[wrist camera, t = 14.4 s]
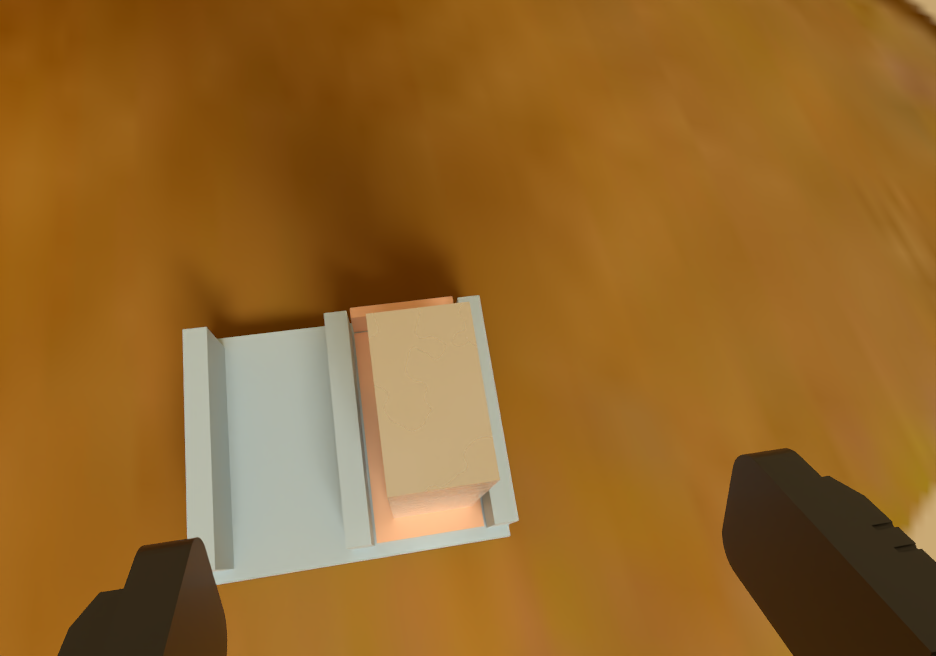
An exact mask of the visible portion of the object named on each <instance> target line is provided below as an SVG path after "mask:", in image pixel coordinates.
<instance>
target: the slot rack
mask: <svg viewBox="0 0 936 656" xmlns="http://www.w3.org/2000/svg"><path fill="white" fill-rule="evenodd" d="M461 302H470V307H471V313H472V319H473V325H474V331H475V337H476V342H477V348H478V354H479V360H480V366H481V372H482V378H483V383H484V389H485V395H486V401H487V407H488V413H489V418H490V424H491V430H492V436H493V442H494V448H495V453H496V459H497V465H498V471H499V477H500V481H498V482H497V483H496V484H495V485H494V486H493V487H492V488H491V489H490V490H489V491H487V492H486V493H485V494H484V495H483V496H482V497H481V498H480V499H479V500H478V501H476V502H475V503H474V504H473V505H472V506H469V507H463V508H456V509H450V510H444V511H437V512H431V513H425V514H418V515H412V516H406V517H400V518H394V517H393V514H392V511H391V508H390V505H389V501H388V498H387V491H386V482H385V474H384V465H383V457H382V448H381V440H380V431H379V423H378V414H377V406H376V397H375V388H374V380H373V371H372V363H371V354H370V346H369V337H368V329H367V320H366V314H368V313H377V312H385V311H394V310H402V309H410V308H419V307H427V306H436V305H444V304H453V297H452V296H449V297H440V298H431V299H423V300H414V301H406V302H397V303H388V304H380V305H371V306H362V307H354V308H350V317H351V322H352V323H349V319H348V315H347V311H338V312H330V313H324V321H325V326H321V327H313V328H304V329H296V330H287V331H279V332H270V333H262V334H254V335H245V336H237V337H228V338H220V339H217V338H216V337H215V336H214V335H213V334H212V333H211V331H210V330H209V329H208V328H207V327H201V328H192V329H183V370H184V414H185V459H186V503H187V539H190V538H196V537H199V538H201V540H202V541H203V543H204V545H205V548H206V551H207V555H208V558H209V562H210V565H211V569H212V572H213V576H214V579H215V583H216V585H219V584H225V583H231V582H237V581H243V580H249V579H255V578H261V577H267V576H274V575H280V574H286V573H292V572H298V571H304V570H310V569H316V568H322V567H328V566H334V565H340V564H346V563H352V562H358V561H364V560H370V559H376V558H382V557H388V556H394V555H400V554H407V553H413V552H419V551H425V550H431V549H437V548H443V547H449V546H455V545H461V544H467V543H473V542H479V541H485V540H491V539H497V538H503V537H508V536H510V531H509V525H508V524H511V523H513V522H516V521H519V519H518V513H517V507H516V502H515V496H514V490H513V484H512V479H511V473H510V467H509V462H508V456H507V450H506V445H505V439H504V433H503V428H502V422H501V416H500V411H499V405H498V399H497V394H496V388H495V382H494V377H493V371H492V365H491V359H490V354H489V348H488V342H487V337H486V331H485V325H484V320H483V314H482V308H481V303H480V297H479V295H476V296H468V297H459V298H457V303H461Z"/></svg>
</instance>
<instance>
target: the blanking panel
mask: <svg viewBox="0 0 936 656" xmlns="http://www.w3.org/2000/svg"><path fill="white" fill-rule="evenodd" d="M366 320H367V329H368V337H369V346H370V354H371V363H372V371H373V380H374V388H375V397H376V406H377V414H378V423H379V431H380V440H381V448H382V457H383V465H384V474H385V482H386V491H387V498H388V501H389V505H390V508H391V511H392V514H393V517H394V518H400V517H406V516H412V515H418V514H425V513H431V512H437V511H444V510H450V509H456V508H463V507H469V506H472V505H473V504H474V503H475V502H476V501H478V500H479V499H480V498H481V497H482V496H483V495H484V494H485V493H486V492H487V491H489V490H490V489H491V488H492V487H493V486H494V485H495V484H496V483H497V482H498V481H500V477H499V471H498V465H497V459H496V453H495V448H494V442H493V436H492V430H491V424H490V418H489V413H488V407H487V401H486V395H485V389H484V383H483V378H482V372H481V366H480V360H479V354H478V348H477V342H476V337H475V331H474V325H473V319H472V313H471V307H470V302H461V303H453V304H444V305H436V306H427V307H419V308H410V309H402V310H394V311H385V312H377V313H368V314H366Z"/></svg>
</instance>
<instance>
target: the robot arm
mask: <svg viewBox="0 0 936 656" xmlns="http://www.w3.org/2000/svg"><path fill="white" fill-rule="evenodd" d="M722 538H723V545H724V549H725V553H726V556H727V559H728V561H729V563H730V565H731V567H732V569H733V570H734V572H735V573H736V575H737V576H738V578H739V579H740V581H741V582H742V583H743V585H744V586H745V588H746V589H747V591H748V592H749V593H750V595H751V596H752V598H753V599H754V600H755V602H756V603H757V605H758V606H759V608H760V609H761V610H762V612H763V613H764V615H765V616H766V617H767V619H768V620H769V622H770V623H771V625H772V626H773V627H774V629H775V630H776V632H777V633H778V634H779V636H780V637H781V639H782V640H783V642H784V643H785V644H786V646H787V647H788V649H789V650H790V652H791V653H792V654H793V656H936V562H935V561H934V560H933V559H932V558H931V557H930V556H929V555H928V554H927V553H925V552H924V551H923V550H922V549H917V548H916V545H915V544H916V543H915V542H914V541H913V540H912V539H910V538H909V537H908V536H907V535H906V534H905V533H904V532H903V531H902V530H901V529H900V528H899V527H894V526H893V524H892V521H891V520H890V519H889V518H888V517H887V516H886V515H885V514H884V513H882V512H881V511H880V510H879V509H878V508H877V507H876V506H875V505H874V504H873V503H872V502H871V501H870V500H868V499H867V498H866V497H865V496H864V495H862V494H860V493H859V492H857V491H855V490H853V489H851V488H850V487H848V486H846V485H844V484H842V483H841V482H839V481H837V480H835V479H833V478H832V477H830V476H825V477H821V476H820V475H819V474H818V473H817V472H816V471H815V470H814V469H813V468H812V467H811V466H810V465H809V464H808V463H807V462H806V461H805V460H804V459H803V458H802V457H801V456H799V455H798V454H797V453H796V452H795V451H793V450H791V449H788V448H783V449H777V450H771V451H764V452H758V453H751V454H745V455H740V456H739V457H737V459H736V460H735V462H734V465H733V470H732V476H731V482H730V488H729V494H728V499H727V505H726V511H725V517H724V523H723V529H722ZM226 655H227V629H226V620H225V614H224V610H223V607H222V603H221V600H220V596H219V593H218V590H217V586H216V583H215V579H214V576H213V572H212V569H211V565H210V562H209V558H208V555H207V551H206V548H205V545H204V543H203V541H202V540H201V538H199V537H196V538H190V539H183V540H177V541H170V542H164V543H157V544H151V545H144V546H142V547H140V548H139V550H138V551H137V553H136V556H135V558H134V561H133V564H132V567H131V570H130V572H129V575H128V578H127V581H126V584H125V586H124V589H119V590H113V591H106V592H100V593H99V594H98V595H97V596H96V597H95V599H94V600H93V601H92V602H91V603H90V604H89V606H88V607H87V608H86V609H85V610H84V611H83V613H82V614H81V615H80V616H79V617H78V618H77V620H76V621H75V622H74V623H73V624H72V625H71V627H70V628H69V630H68V632H67V634H66V637H65V639H64V642H63V644H62V646H61V649H60V651H59V653H58V656H226Z"/></svg>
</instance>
